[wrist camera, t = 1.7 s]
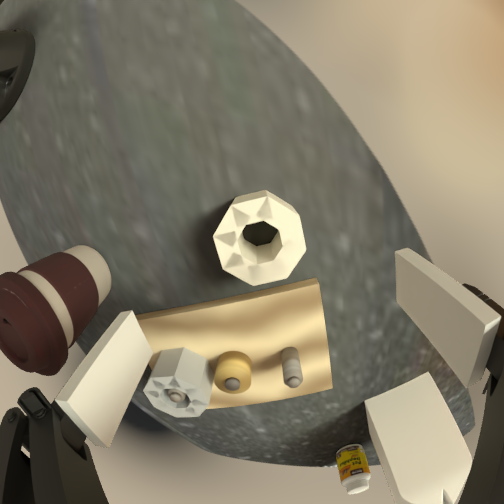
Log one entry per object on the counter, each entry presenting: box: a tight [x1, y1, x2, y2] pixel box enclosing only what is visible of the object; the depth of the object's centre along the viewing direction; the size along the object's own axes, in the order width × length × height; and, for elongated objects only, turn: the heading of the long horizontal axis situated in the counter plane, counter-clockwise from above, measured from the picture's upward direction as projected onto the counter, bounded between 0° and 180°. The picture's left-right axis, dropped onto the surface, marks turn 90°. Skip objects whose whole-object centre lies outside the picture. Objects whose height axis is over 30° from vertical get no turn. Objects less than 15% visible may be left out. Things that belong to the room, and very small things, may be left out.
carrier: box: [135, 278, 333, 409], centre depth 29 cm, size 16×22×7 cm
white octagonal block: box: [213, 190, 306, 286], centre depth 24 cm, size 7×7×5 cm
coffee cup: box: [0, 245, 111, 376], centre depth 21 cm, size 10×10×15 cm
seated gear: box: [143, 347, 214, 417], centre depth 28 cm, size 7×7×5 cm
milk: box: [364, 372, 472, 504], centre depth 24 cm, size 12×12×26 cm
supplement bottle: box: [336, 444, 371, 494], centre depth 35 cm, size 6×6×10 cm
